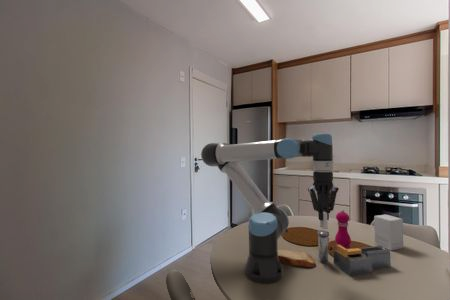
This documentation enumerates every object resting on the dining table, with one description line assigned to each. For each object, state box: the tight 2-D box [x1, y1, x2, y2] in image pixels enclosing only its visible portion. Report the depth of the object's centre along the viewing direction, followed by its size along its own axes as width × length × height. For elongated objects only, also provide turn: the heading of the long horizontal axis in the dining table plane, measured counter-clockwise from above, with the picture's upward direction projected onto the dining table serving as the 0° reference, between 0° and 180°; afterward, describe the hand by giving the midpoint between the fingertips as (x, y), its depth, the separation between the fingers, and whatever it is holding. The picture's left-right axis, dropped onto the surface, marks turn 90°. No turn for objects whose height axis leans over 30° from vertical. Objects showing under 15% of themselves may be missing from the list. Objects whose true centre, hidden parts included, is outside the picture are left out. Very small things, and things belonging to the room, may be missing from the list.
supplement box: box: [373, 214, 404, 251], centre depth 115 cm, size 9×9×15 cm
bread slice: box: [278, 249, 317, 268], centre depth 102 cm, size 18×18×4 cm
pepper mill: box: [334, 208, 352, 249], centre depth 113 cm, size 7×7×20 cm
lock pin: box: [336, 245, 362, 257], centre depth 95 cm, size 9×5×3 cm, turn 100°
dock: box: [333, 245, 391, 277], centre depth 96 cm, size 22×10×7 cm, turn 100°
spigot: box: [316, 229, 330, 264], centre depth 101 cm, size 5×5×13 cm
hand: (323, 227), depth 92 cm, fingers closed
